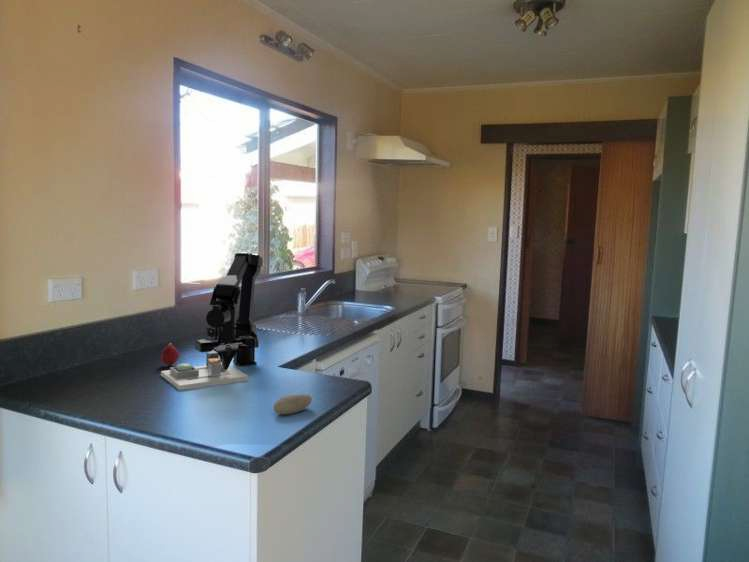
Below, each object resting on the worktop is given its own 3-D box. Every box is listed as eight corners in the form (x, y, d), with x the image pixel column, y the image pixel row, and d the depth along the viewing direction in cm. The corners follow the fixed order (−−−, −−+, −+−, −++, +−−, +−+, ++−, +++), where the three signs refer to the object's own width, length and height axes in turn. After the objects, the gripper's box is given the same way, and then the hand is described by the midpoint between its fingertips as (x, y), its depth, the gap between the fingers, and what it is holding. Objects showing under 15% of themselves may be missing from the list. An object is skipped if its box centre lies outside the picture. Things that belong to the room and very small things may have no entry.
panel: (225, 367, 198) (225, 357, 197) (247, 380, 184) (248, 369, 183) (161, 375, 185) (161, 364, 184) (179, 390, 170) (179, 379, 170)
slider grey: (215, 364, 194) (215, 350, 193) (218, 367, 191) (218, 352, 191) (205, 366, 192) (206, 351, 191) (209, 368, 189) (209, 353, 189)
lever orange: (217, 373, 184) (217, 358, 183) (221, 375, 182) (221, 360, 181) (207, 374, 182) (207, 359, 182) (211, 377, 180) (211, 361, 179)
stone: (266, 405, 153) (295, 384, 162) (275, 426, 154) (304, 403, 163) (280, 403, 149) (308, 381, 159) (289, 425, 150) (317, 401, 160)
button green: (188, 367, 184) (188, 362, 184) (193, 370, 181) (193, 366, 181) (175, 369, 182) (175, 364, 182) (179, 372, 178) (179, 367, 178)
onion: (172, 369, 193) (172, 345, 192) (157, 367, 194) (157, 344, 193) (181, 364, 198) (182, 342, 197) (166, 363, 199) (167, 340, 199)
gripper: (242, 315, 194) (241, 360, 196) (188, 319, 183) (188, 367, 184) (257, 321, 185) (256, 368, 187) (201, 326, 174) (200, 375, 176)
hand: (225, 369), depth 184 cm, fingers closed
